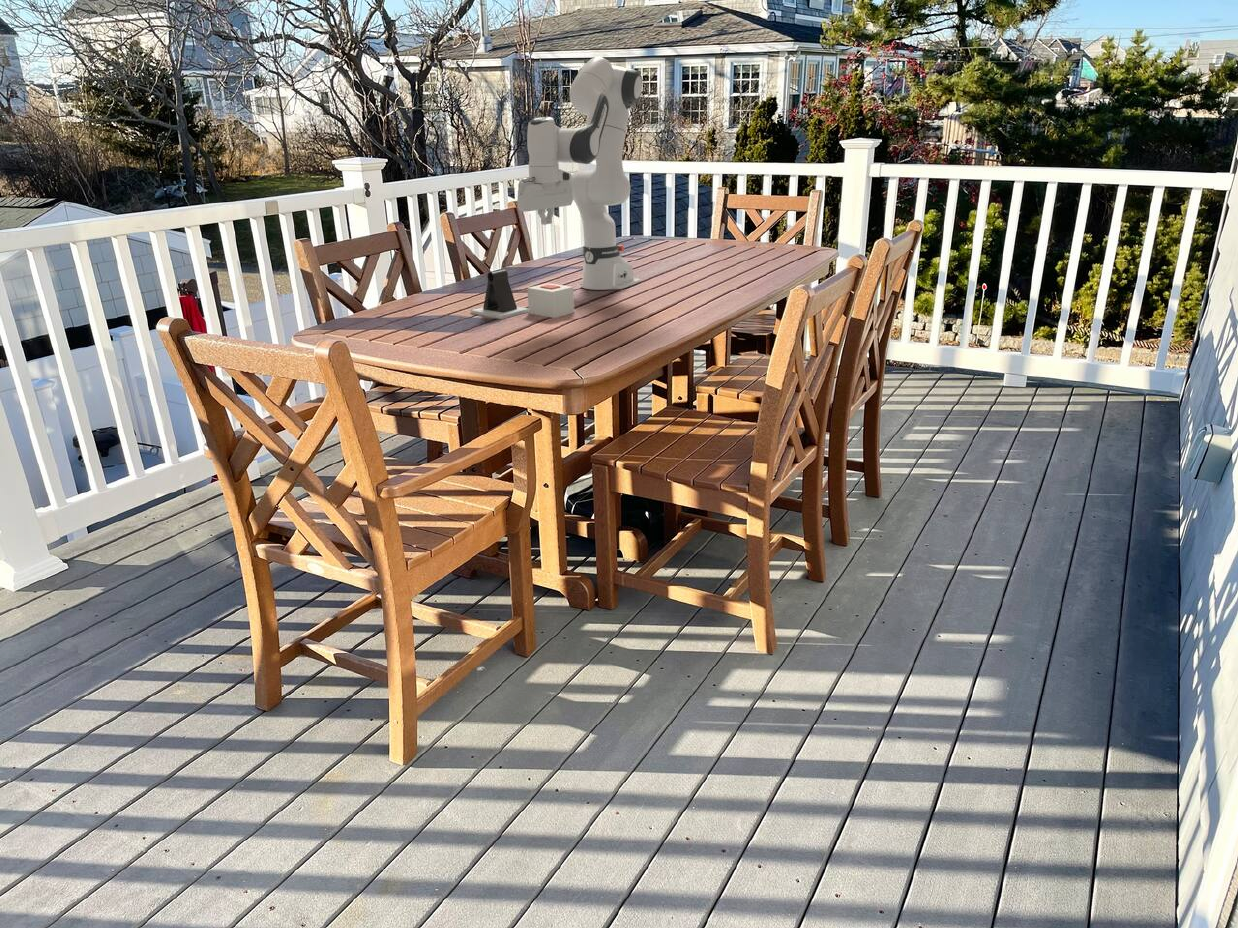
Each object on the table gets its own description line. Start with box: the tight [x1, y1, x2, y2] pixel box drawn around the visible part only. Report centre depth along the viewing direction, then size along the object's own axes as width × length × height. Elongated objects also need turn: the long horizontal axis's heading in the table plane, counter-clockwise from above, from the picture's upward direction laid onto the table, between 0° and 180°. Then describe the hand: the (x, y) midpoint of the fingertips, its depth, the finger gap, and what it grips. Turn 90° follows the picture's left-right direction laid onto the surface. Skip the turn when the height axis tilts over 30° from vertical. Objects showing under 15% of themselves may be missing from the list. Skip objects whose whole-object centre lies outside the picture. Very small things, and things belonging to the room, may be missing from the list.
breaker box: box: [527, 282, 575, 319], centre depth 279 cm, size 9×11×8 cm
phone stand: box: [482, 268, 518, 313], centre depth 280 cm, size 9×6×12 cm, turn 52°
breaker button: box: [540, 285, 560, 290], centre depth 278 cm, size 4×5×3 cm
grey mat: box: [470, 306, 529, 320], centre depth 283 cm, size 12×14×1 cm
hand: (546, 224), depth 270 cm, fingers closed
